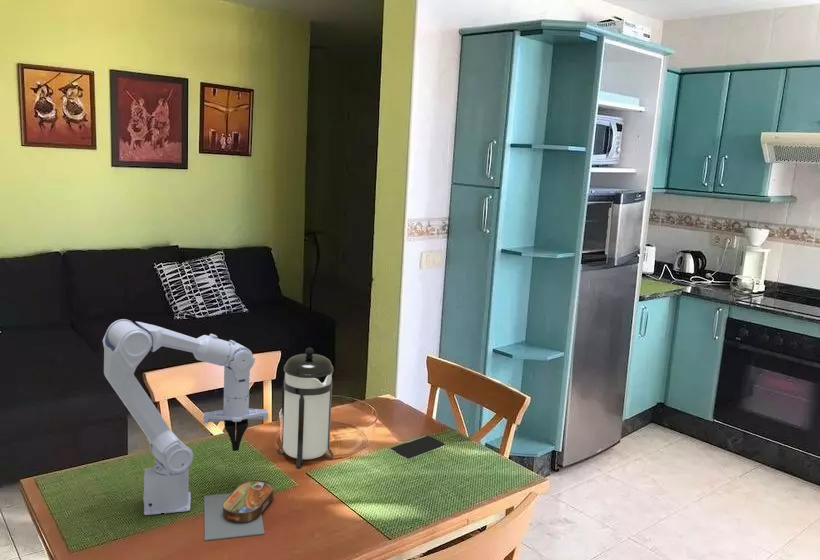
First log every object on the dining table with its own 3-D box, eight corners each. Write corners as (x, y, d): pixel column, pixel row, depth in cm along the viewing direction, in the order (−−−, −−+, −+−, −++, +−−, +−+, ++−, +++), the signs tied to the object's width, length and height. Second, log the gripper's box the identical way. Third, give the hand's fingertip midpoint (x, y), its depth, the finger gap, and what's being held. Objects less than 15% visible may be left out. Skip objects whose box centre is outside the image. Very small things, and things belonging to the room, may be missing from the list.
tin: (252, 515, 139) (215, 506, 141) (250, 528, 140) (214, 519, 141) (279, 482, 154) (246, 475, 155) (278, 495, 154) (245, 487, 156)
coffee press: (341, 446, 182) (346, 342, 176) (323, 472, 166) (328, 359, 161) (281, 438, 184) (285, 335, 179) (259, 462, 169) (262, 351, 164)
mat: (204, 541, 134) (204, 539, 134) (204, 496, 151) (204, 495, 151) (264, 534, 138) (264, 533, 138) (257, 492, 155) (257, 490, 154)
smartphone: (388, 448, 181) (427, 434, 191) (388, 452, 181) (427, 438, 191) (408, 459, 175) (447, 444, 185) (408, 463, 176) (446, 448, 186)
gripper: (203, 402, 147) (203, 458, 149) (269, 399, 151) (268, 454, 153) (203, 391, 153) (203, 445, 156) (266, 388, 158) (265, 441, 160)
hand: (235, 449), depth 155 cm, fingers closed
